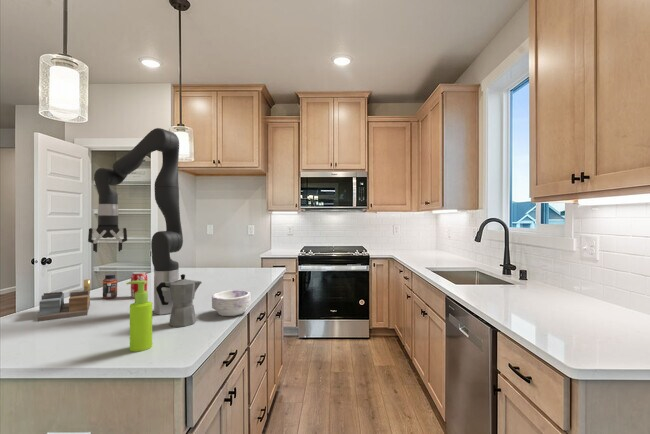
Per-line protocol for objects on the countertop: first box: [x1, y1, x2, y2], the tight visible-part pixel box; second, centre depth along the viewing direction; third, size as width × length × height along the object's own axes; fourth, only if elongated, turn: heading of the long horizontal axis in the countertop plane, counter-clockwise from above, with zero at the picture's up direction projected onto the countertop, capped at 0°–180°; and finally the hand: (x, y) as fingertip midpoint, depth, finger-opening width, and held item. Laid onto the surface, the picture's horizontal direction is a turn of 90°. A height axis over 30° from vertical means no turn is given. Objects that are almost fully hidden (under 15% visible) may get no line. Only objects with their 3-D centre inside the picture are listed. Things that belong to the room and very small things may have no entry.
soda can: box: [130, 271, 148, 299], centre depth 164 cm, size 7×7×12 cm
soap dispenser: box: [125, 280, 153, 352], centre depth 101 cm, size 6×7×20 cm
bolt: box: [68, 279, 92, 297], centre depth 141 cm, size 3×7×6 cm, turn 122°
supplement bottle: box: [102, 273, 118, 300], centre depth 162 cm, size 6×6×11 cm
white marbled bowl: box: [211, 289, 252, 317], centre depth 137 cm, size 15×15×8 cm
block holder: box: [37, 289, 91, 322], centre depth 138 cm, size 20×15×8 cm
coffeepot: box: [156, 273, 202, 328], centre depth 123 cm, size 15×9×18 cm, turn 116°
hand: (108, 251), depth 147 cm, fingers open, 8 cm apart
